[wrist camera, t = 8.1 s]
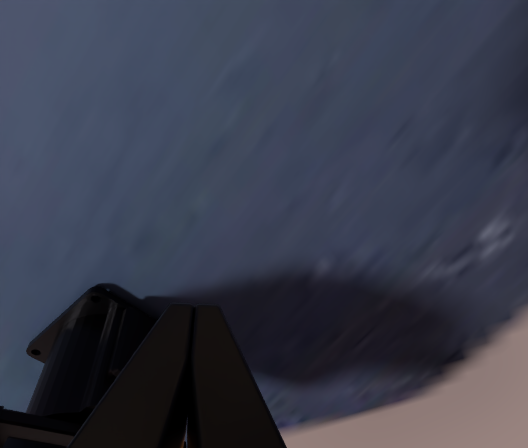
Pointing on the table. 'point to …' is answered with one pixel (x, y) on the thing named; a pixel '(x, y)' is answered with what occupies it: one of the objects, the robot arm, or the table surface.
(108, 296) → the robot arm
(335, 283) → the table surface
